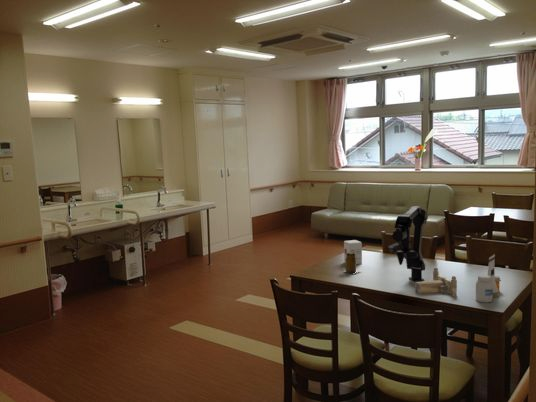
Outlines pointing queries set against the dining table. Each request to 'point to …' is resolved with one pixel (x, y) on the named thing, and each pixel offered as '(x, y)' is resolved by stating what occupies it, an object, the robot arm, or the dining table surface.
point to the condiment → (350, 263)
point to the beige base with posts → (446, 283)
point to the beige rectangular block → (428, 286)
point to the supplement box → (353, 250)
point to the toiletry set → (487, 284)
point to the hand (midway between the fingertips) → (404, 266)
